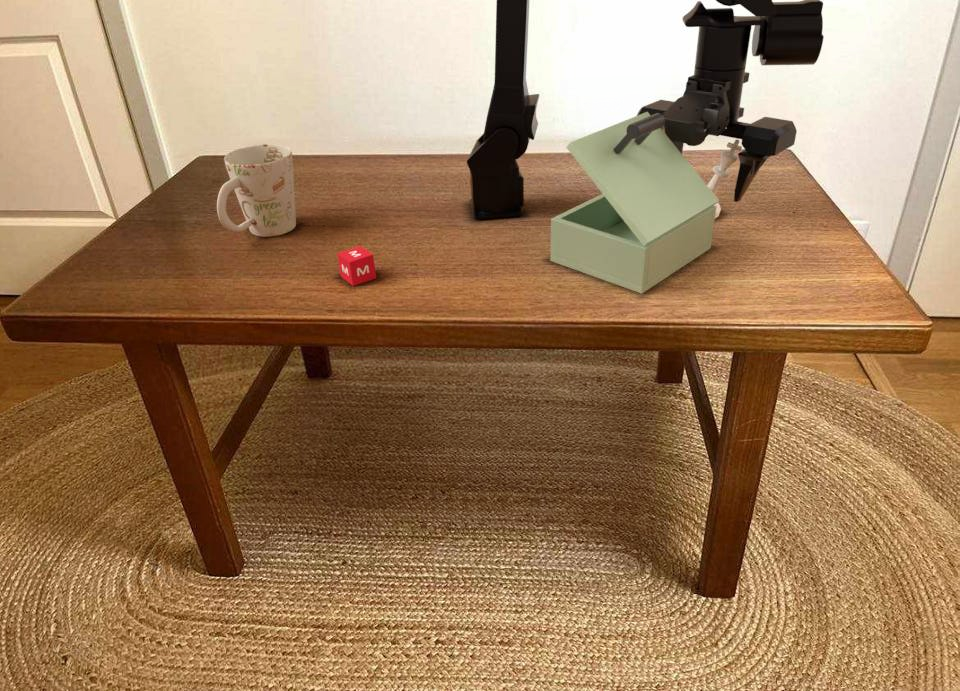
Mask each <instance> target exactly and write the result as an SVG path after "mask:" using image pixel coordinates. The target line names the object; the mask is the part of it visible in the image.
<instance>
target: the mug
mask: <svg viewBox="0 0 960 691" xmlns="http://www.w3.org/2000/svg"><path fill="white" fill-rule="evenodd" d="M223 163H224V165H225V168H226V171H227V175H228V176H229V180H228V181H226V182H224V183H223V185H222V186H221V187H220V189H219V192H218V195H217V200H216V213H217V217H218V219H219V222H220V223H221V225H222V226H223V227H224V228H225V229H226V230H228V231H230V232H233V233H243V232H244V231H246V230H247V229H249V232H250V233H251V234H252V235H254V236H256V237H263V238H270V237H276V236H282V235H285V234H287V233H289V232H292V230H294V229H295V228H296V226H297V216H296V215H297V214H296V198H295V178H294V159H293V152H292V149H291V148H289V146H286V145H282V144H276V143H275V144H274V143H273V144H272V143H271V144H270V143H268V144H266V143H263V144H255V145H254V144H253V145H249V146H244V147H240V148H237V149H234V150H232V151H230V152H228V153H227V154H226V155H225V156H224V158H223ZM233 191H234V193H235V195H236V199H237V200H238V203H239V206H240V208H241V211H242V213H243V216H244V219H245V220H244V221H243V222H242V223H240V224H239V225H237V224H236V223H234V222H233V221H232V220H231V219H230V217H229V216H228V213H227V207H226V206H227V200H228V197H229V195H230V193H231V192H233Z"/></svg>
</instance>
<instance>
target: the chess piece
mask: <svg viewBox="0 0 960 691" xmlns="http://www.w3.org/2000/svg"><path fill="white" fill-rule="evenodd" d="M739 144H740V139H735V140H734V142H733V143H732V142H727V144H726V148H728V149H724V150H722V151H721V154H720V160H719V165H718V164H717V165H714V166H713V167H712V171H713V173H714V175H713V176H712V178H711V179H710V180H709V182H708V184H706V185H707V186H708V187H709V188H710V190H711V191H712V192H713V193H714V195H715V196H716V194H717V191H718V188H719V186H720V183H721V181H722V179H723V178H727V177H729V176H730V171H729V170H728V168H730V167H731V166H732V165H733V164H734V163H735V162H736V161H737V160H738V154H736V153H735V151H738V152H742V149H743V146H742V145H739ZM713 206H716V214H715V219H717V218H718V217H719V216H720V213H721V210H722V208H721V204H720V203H719V202H717V203H716V204H715V205H713Z"/></svg>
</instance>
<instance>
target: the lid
mask: <svg viewBox="0 0 960 691" xmlns="http://www.w3.org/2000/svg"><path fill="white" fill-rule="evenodd" d="M664 124H665V118H664V116H663V115H662V114H660V113H656V114H654V115H651V116H650V114H649V113H648V112H645V113H643V114H640V115H638V116H637V115H636V116H633V117H630V118H628V119H625V120H623V121H621V122H618V123H615V124H613V125H611V126H608V127H605V128H603V129H601V130H598V131H596V132H593V133H590V134H588V135H585V136H583V137H580V138H577V139H575V140H573V141H570V142H569V143H568V144H567V145H566V146H565V147H566V150H568V152H569V153H570V154H571V155H572V157H573V158H574V160H576V162H577V163H578V164H579V166H580V167H581V168H582V169H583V171H584V172H585V173H586V175H587V176H588V177H589V178H590V180H591V181H592V183H594V185H595V186H596V187H597V188H598V190H599V191H600V193H601V194H603V195H604V196H605V197H606V199H607V200H608V201H609V202H610V204H611V205H612V206H613V208H614V209H615V210H616V211H617V213H618V214H619V215H620V217H621V218H622V219H623V220H624V222H625V223H626V224H627V225H628V227H629V228H630V229H631V231H632V232H633V233H634V234H635V236H636V237H637V238H638V239H639V241H640V242H641V243H642V245H643V246H646V245H648V244H649V243H651V242H653V241H654V240H656V239H658V238H660V237H661V236H663V235H665V234H666V233H668V232H670V231H671V230H673V229H675V228H676V227H678V226H680V225H681V224H683V223H685V222H686V221H688V220H690V219H692V218H693V217H695V216H697V215H698V214H700V213H702V212H703V211H705V210H707V209H708V208H710V207H712V206H713V205H715V204H716V203H717V202H718V203H719V202H720V199H719V198H718V197H717V195H716V194H715V195H714V193H713V192H712V191H711V190H710V188H709V187H708V186H707V185H708V184H707V183H706V182H705V181H704V180H703V178H702V177H701V176H700V175H699V173H698V172H697V170H696V169H694V168H693V166H692V165H691V163H690V162H689V160H687V158H686V157H685V156H684V155H683V153H682V154H681V153H680V151H679V150H678V149H677V148H676V146H675V145H674V144H673V143H672V141H671V140H670V139H669V138H668V137H667V135H666V134H665V133H664V132H663V130H662V129H661V128H662V127H663V126H664Z"/></svg>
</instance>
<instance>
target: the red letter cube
mask: <svg viewBox="0 0 960 691" xmlns="http://www.w3.org/2000/svg"><path fill="white" fill-rule="evenodd" d="M374 257H375V256H374V254H373V253H372V252H370V251H368V250H367V249H366V248H364V247H363V246H361V245H360V246H357V247H353V248H350V249H347V250H344V251H341V252H338V253H337V260H338V267H339V274H340V277H341V278H342V279H343V280H344V281H346V282H347V283H349V284H350V285H351V286H352V287H354V286H355V287H356V286H358V285H360V284H363V283H366V282H369V281H372V280H375V279H377V273H376V264H375V258H374Z"/></svg>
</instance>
